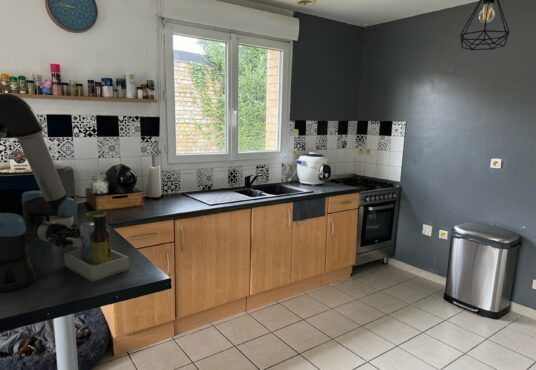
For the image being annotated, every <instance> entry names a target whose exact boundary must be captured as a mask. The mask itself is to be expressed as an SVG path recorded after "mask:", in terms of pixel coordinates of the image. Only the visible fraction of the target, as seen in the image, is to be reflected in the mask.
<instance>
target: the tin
mask: <svg viewBox="0 0 536 370" xmlns="http://www.w3.org/2000/svg"><path fill="white" fill-rule="evenodd" d="M78 226H79V229H80V236H79V239H82V247H80V250H81V256H82V261H83V262H85V263H87V264H89V265H93V255H92V238H91V235H92V233H93V231H94V222H89V221H88V222H83V223H80V224H78Z"/></svg>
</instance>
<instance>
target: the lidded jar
mask: <svg viewBox="0 0 536 370" xmlns="http://www.w3.org/2000/svg"><path fill="white" fill-rule="evenodd" d="M48 217H49V222H54V223H61V224H65V225H66V226H67V227H68V228H72V226H73V225H72V224H73V216H72V217H65V218H60V217H52V216H48Z"/></svg>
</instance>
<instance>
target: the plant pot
mask: <svg viewBox="0 0 536 370" xmlns="http://www.w3.org/2000/svg"><path fill="white" fill-rule="evenodd" d="M95 215H105V216H106V215H107V211H105V210H95V211H90V212H87V213H86V217H87V219H88V222H94V220H93V216H95Z"/></svg>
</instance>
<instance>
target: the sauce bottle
mask: <svg viewBox="0 0 536 370" xmlns="http://www.w3.org/2000/svg"><path fill="white" fill-rule="evenodd" d="M106 219H107V218H106V215H95V216H93V220H94V231H93V233H92V235H91V238H92V255H93V265H94V266H95V265H99V264H103V263H106V262H110V261H112V256H111V249H112V244H111V234H109V232H108V230H109V229H108V230H107V227H106V226H107V225H106Z"/></svg>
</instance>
